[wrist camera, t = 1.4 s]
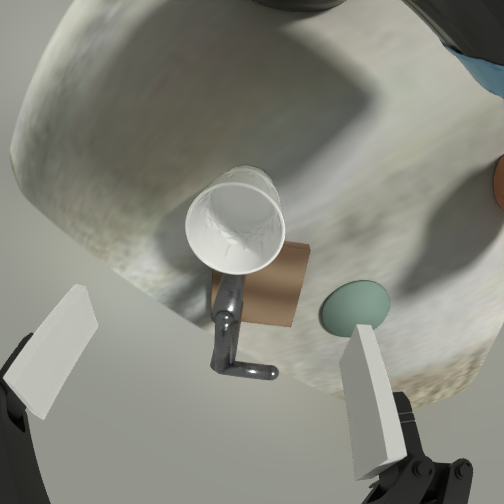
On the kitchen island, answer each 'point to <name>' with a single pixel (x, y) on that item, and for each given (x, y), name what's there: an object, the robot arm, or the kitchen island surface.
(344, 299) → the end coaster
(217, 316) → the bent wire
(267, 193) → the white cup
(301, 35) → the kitchen island surface
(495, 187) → the potted plant
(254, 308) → the brown wooden board
